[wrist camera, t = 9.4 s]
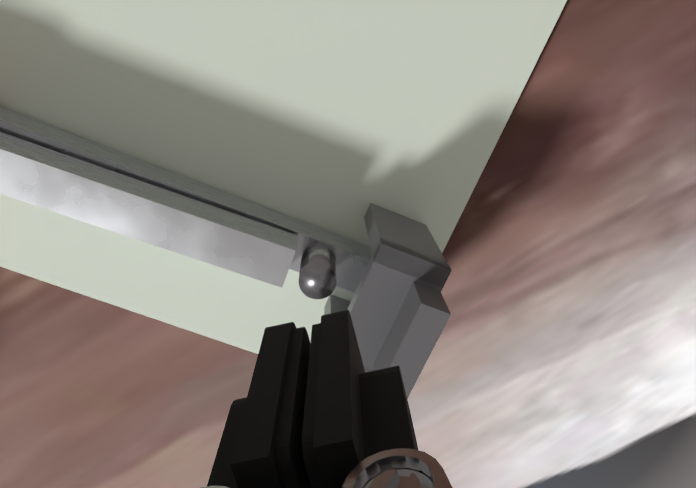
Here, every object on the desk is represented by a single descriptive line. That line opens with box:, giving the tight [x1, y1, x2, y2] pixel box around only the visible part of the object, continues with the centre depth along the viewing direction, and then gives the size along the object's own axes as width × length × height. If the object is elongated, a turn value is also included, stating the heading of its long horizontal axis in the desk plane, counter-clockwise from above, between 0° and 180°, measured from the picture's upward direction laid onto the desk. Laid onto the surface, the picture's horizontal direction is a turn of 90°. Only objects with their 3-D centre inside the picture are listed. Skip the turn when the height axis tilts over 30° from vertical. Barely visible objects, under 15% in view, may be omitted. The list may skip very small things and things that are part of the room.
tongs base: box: [0, 105, 372, 299], centre depth 26 cm, size 22×3×6 cm, turn 67°
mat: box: [0, 0, 567, 354], centre depth 27 cm, size 26×22×1 cm
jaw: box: [0, 132, 298, 288], centre depth 24 cm, size 18×3×2 cm, turn 69°
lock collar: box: [324, 203, 451, 398], centre depth 25 cm, size 3×6×8 cm, turn 157°
